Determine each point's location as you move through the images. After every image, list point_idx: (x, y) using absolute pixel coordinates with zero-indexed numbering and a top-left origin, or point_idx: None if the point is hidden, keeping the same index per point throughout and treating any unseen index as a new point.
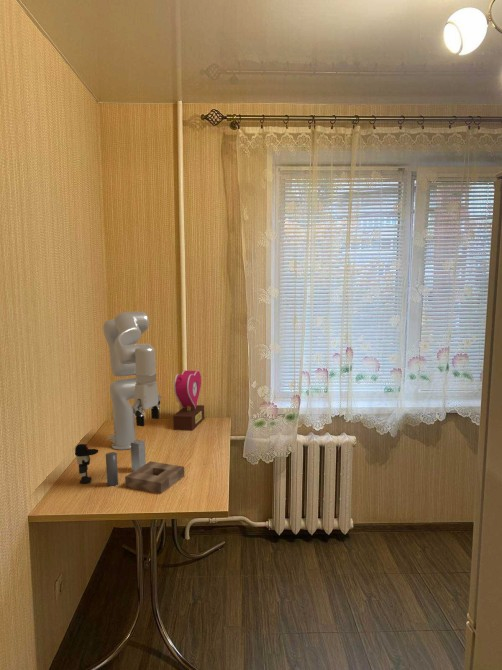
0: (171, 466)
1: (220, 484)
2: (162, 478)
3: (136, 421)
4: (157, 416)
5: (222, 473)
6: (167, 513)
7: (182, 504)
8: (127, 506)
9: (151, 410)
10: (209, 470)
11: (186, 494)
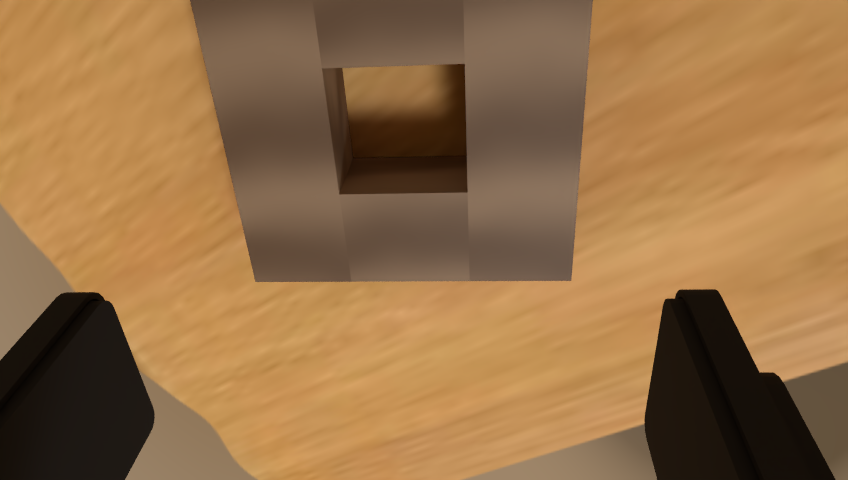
0: (543, 194)
1: (526, 445)
2: (317, 253)
3: (12, 350)
4: (658, 467)
5: None
6: None
7: (240, 387)
8: (32, 155)
9: (734, 467)
10: None
11: (341, 358)
